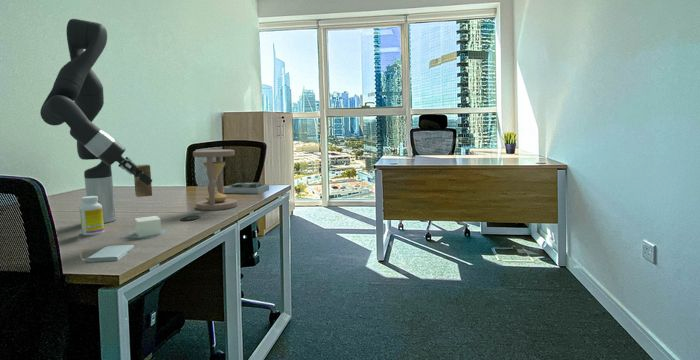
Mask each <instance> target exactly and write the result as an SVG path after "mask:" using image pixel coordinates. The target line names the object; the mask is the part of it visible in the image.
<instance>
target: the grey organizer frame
mask: <svg viewBox="0 0 700 360" xmlns="http://www.w3.org/2000/svg"><path fill="white" fill-rule="evenodd" d="M231 185H232V184H230V185H227V186H223V194H254V195H257V194H261V193H264V192H266V190H267V191H269V190H270V184H269V183H262V186H261V187H258V188H242V187H231Z"/></svg>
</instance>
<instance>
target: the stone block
mask: <svg viewBox="0 0 700 360" xmlns="http://www.w3.org/2000/svg"><path fill="white" fill-rule="evenodd" d="M262 184H263V183H262V182H247V181H245V182H236V183H233V184H230V185H231V187H242V188H258V187H261V186H262Z"/></svg>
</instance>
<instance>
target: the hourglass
mask: <svg viewBox="0 0 700 360" xmlns="http://www.w3.org/2000/svg"><path fill="white" fill-rule="evenodd" d="M232 156H235V150H234V149H227V148H226V149H200V150H194V151H192V157H194V158H206V162H203V165H204V167H205V169H206V176H207V178H208V185H207V192H208V195H207V196H205V198H206V199H204V200H199V201H197V202H196V203H195V206H196V209H197V210H201V211H222V210H227V209H233V208H235V207H237V206H238V200H237V199H234V198H228V195H227V194H225V193H224V181H223V178H222V175H223V170H224V167H225V165H226V161H222V158H223V157H232ZM213 158H215V161H214V159H213ZM215 181H216V186H215V183H214V182H215ZM216 188H217V189H216ZM216 190H217V191H216Z"/></svg>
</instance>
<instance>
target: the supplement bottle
mask: <svg viewBox="0 0 700 360" xmlns="http://www.w3.org/2000/svg"><path fill="white" fill-rule="evenodd" d="M97 201H98V196H87V197H86V196H83V197H81V202H82V204H80V206H79V215H80V225H81V234H82V235H83V236H94V235H99V234H103V233H105V226H104V225H105V223H104V222H103V212H102V205H101V204H99V203H98V202H97Z"/></svg>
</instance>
